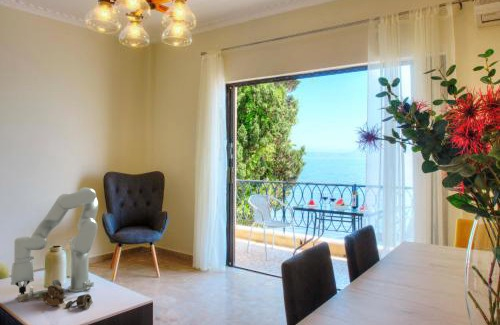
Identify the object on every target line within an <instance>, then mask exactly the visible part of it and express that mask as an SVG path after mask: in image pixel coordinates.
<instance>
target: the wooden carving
mask: <svg viewBox="0 0 500 325" xmlns="http://www.w3.org/2000/svg"><path fill="white" fill-rule="evenodd" d="M48 286H49V287H48ZM48 286H47V290H48V292H46V293H43V294H42V298H41V299H42V302H43V303H44V302H45V303H47V304H48V305H50V306H53V307H54V306H58V305H59V306H60V305H62V304H64V303H65V301H64V299H67V296H65V295H64V294H65V288H63V287H62V286H61V287H60V286H59V285H54V286H53V284H52V285H48Z"/></svg>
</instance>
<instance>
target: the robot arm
mask: <svg viewBox="0 0 500 325" xmlns="http://www.w3.org/2000/svg"><path fill="white" fill-rule="evenodd" d="M78 207H82V211H81V214H80V216H79V220H78V221H77V226H76V227H77V230H78V233H77V234H76V235H75V236H73V237H72V239H71V240H70V243H69V244H70V245H69V246H70V285H69V286H67V291H69V292H71V293H74V292H75V293H78V292H84V291H87V290H90V289H91V288H92V287H94V286H95V285H94V284H95V282H91V279H89V262H90V260H89V259H90V258H89V256H90V255H89V254H90V253H89V252H90V251H91V250H92V248H93V247H94V246H93V245H94V243H95V240H96V237H97V233H98V230H99V229H98V228H99V225H98V222H97V221H96V219H97V215H98V210H99V201H98V198H97V192H96V190H94V189H93V188H90V187H86V186H85V187H81V188H80V189H78V191H76V192H72V193H61V194H60V195H59V196H58V197H57V198H56V200H55V202H54V203H53V205H52V206H51V208H50V210H49V211H48V213H47V214H46V215H45V216H44V218H43V219H42V220H41V222H40V223H39V225H38V226H37V227H36V229H35V230H34V232H33V233H32V234H31V237H29V236H19V237H16V238H15V239H14V249H13V250H14V251H13V252H14V258H13V259H14V260H13V261H14V262H13V263H12V265H11V273H10V274H11V275H10V278H11V279H10V280H11V281H10V286H11V285H12V286H17V287H18V293H19V294H21V295H22V294H25V293H26V292H27V287H28V285H29V284H30V283H32V282H35V280H34V274H35V273H34V264H33V260H34V259H35V258H34V256H32V254H31V252H32V251H41V250H44V249H45V248H46V247H47V245H48V240H47V238H48V236H49V235H50V233H51V232H52V231H53V230H54V229H55V228H56V227H58V226H59V225H60V223H62V221H63V220H64V218H65V217H66V215H67V213H68V212H69V210H73V209H75V208H78ZM22 282H23V284H22Z"/></svg>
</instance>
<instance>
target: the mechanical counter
mask: <svg viewBox="0 0 500 325" xmlns="http://www.w3.org/2000/svg"><path fill="white" fill-rule="evenodd" d="M75 303H76V305H74V304H75ZM92 304H93V299H92V295H91V294H89V293H85V294H81V295H78V296H77V298H76V299H75V300H69V301H67V303H66V304H65V308H66V309H69V308H71V309H74V308H78V309H85V310H86V311H87V310H88V309H89V308H90V306H92Z"/></svg>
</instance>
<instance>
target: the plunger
mask: <svg viewBox="0 0 500 325" xmlns="http://www.w3.org/2000/svg"><path fill="white" fill-rule="evenodd" d="M33 292H34V286H33V285H29V293H30V294H31V293H32V297H33Z"/></svg>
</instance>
